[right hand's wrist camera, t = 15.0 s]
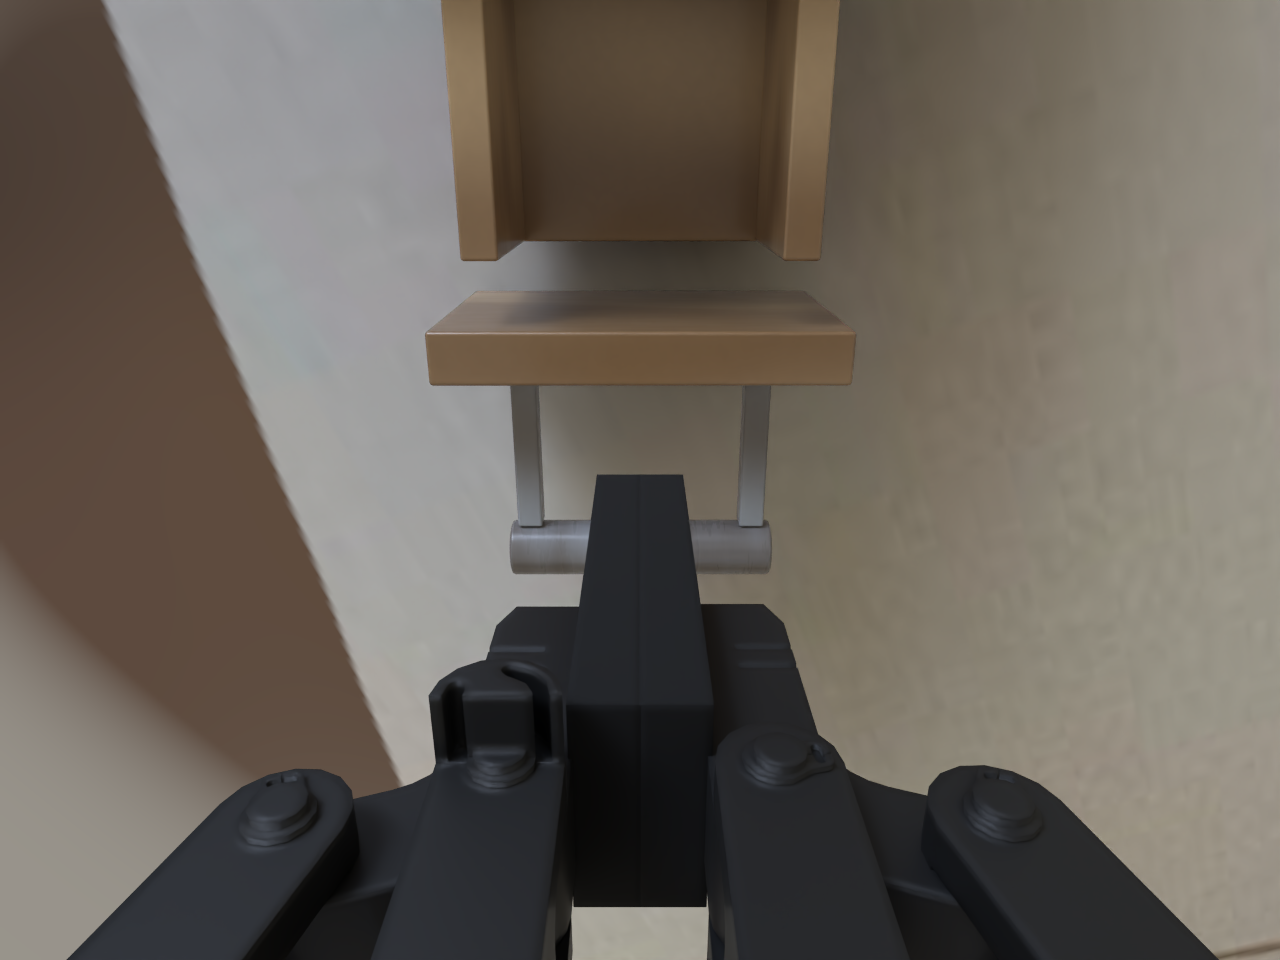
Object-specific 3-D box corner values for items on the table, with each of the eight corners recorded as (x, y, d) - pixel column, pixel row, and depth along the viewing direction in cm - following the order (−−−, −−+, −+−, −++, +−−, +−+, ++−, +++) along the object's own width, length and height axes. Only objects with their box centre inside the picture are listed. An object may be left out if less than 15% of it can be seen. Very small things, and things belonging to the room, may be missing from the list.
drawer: (791, 503, 26) (832, 598, 20) (490, 503, 26) (449, 599, 20) (861, -495, 17) (964, -799, 12) (419, -495, 17) (316, -798, 12)
